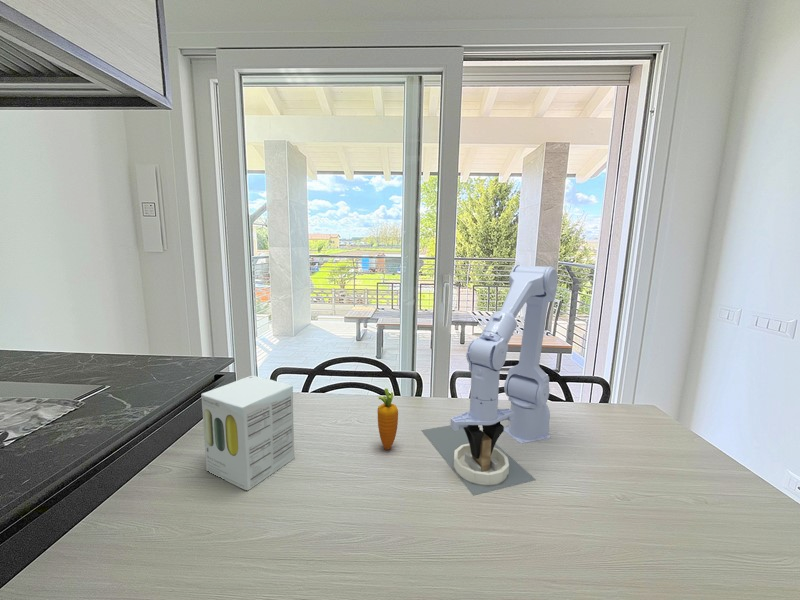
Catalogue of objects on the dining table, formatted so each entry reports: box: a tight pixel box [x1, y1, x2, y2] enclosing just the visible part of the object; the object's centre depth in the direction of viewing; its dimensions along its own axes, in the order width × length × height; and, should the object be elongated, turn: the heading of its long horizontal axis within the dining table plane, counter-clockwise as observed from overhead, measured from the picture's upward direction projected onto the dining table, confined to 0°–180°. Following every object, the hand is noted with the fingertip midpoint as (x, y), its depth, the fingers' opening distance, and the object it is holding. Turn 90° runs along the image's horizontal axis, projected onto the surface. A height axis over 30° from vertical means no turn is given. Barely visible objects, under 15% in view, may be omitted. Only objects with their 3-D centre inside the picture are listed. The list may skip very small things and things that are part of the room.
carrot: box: [377, 387, 399, 451], centre depth 82 cm, size 5×5×15 cm
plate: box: [454, 444, 509, 486], centre depth 76 cm, size 11×11×2 cm
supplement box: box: [200, 374, 296, 491], centre depth 75 cm, size 13×13×18 cm
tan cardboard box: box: [472, 430, 491, 472], centre depth 75 cm, size 2×4×7 cm, turn 19°
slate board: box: [420, 424, 537, 497], centre depth 82 cm, size 15×26×1 cm, turn 19°
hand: (481, 455), depth 75 cm, fingers open, 2 cm apart
